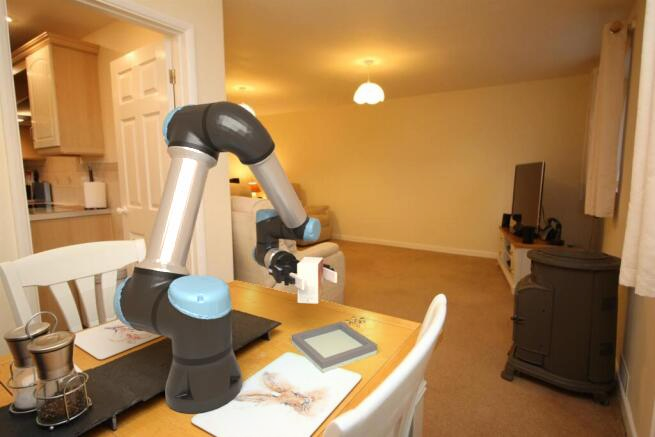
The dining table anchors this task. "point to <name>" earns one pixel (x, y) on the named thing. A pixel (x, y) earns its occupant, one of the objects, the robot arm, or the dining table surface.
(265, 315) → the dining table surface
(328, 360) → the tray
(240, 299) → the dining table surface
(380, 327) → the dining table surface
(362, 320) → the dice set
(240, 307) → the dining table surface
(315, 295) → the small box
